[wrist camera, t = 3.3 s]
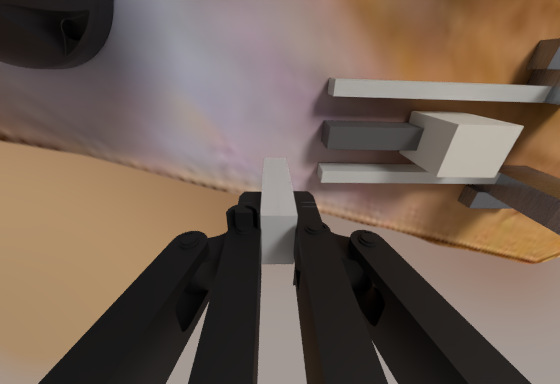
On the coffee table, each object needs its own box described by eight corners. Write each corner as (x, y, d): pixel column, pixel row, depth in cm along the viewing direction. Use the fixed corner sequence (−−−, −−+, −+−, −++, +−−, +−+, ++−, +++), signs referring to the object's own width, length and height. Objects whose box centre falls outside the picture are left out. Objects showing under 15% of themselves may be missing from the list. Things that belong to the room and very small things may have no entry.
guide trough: (317, 173, 28) (321, 182, 26) (329, 77, 23) (335, 79, 20) (477, 175, 29) (494, 184, 27) (526, 85, 24) (552, 86, 22)
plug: (319, 151, 27) (335, 176, 20) (325, 108, 24) (344, 121, 18) (444, 153, 27) (494, 177, 21) (462, 112, 25) (524, 126, 19)
